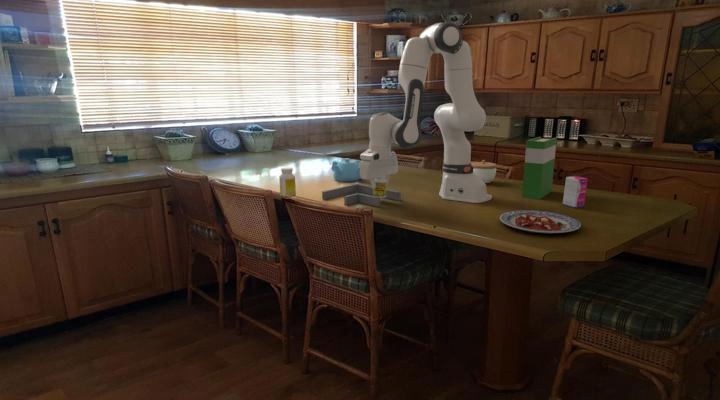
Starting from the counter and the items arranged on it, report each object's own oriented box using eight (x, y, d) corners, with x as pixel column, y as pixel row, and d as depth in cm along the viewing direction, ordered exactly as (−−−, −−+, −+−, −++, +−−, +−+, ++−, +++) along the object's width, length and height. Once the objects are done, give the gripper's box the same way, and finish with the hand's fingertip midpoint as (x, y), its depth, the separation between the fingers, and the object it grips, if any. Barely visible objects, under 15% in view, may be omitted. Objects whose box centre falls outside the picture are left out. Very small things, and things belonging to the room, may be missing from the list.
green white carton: (534, 189, 215) (539, 136, 209) (551, 191, 211) (556, 137, 205) (522, 196, 202) (526, 140, 196) (539, 199, 197) (545, 141, 191)
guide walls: (400, 200, 197) (401, 192, 196) (366, 210, 182) (366, 201, 181) (357, 191, 213) (357, 183, 213) (322, 199, 198) (322, 191, 198)
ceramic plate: (490, 230, 157) (490, 221, 156) (510, 212, 178) (510, 204, 178) (573, 243, 144) (574, 234, 143) (584, 222, 165) (585, 214, 165)
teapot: (360, 176, 248) (359, 155, 245) (365, 181, 233) (365, 160, 231) (331, 177, 245) (330, 156, 243) (334, 183, 231) (334, 161, 228)
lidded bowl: (499, 181, 232) (500, 159, 230) (491, 186, 222) (492, 163, 219) (474, 178, 239) (475, 157, 236) (465, 183, 229) (466, 160, 226)
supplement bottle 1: (299, 197, 203) (297, 167, 200) (290, 200, 197) (289, 170, 194) (285, 195, 206) (284, 166, 203) (277, 199, 200) (275, 169, 197)
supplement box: (574, 208, 183) (577, 179, 180) (562, 205, 188) (565, 176, 185) (584, 206, 185) (588, 178, 183) (572, 203, 190) (575, 175, 188)
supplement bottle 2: (385, 195, 197) (385, 172, 195) (386, 198, 192) (387, 175, 190) (372, 195, 197) (372, 172, 195) (373, 198, 192) (373, 175, 190)
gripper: (390, 149, 200) (389, 181, 203) (357, 155, 185) (357, 189, 189) (402, 151, 196) (401, 183, 199) (368, 157, 181) (369, 192, 184)
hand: (379, 186), depth 194 cm, fingers closed on supplement bottle 2, 5 cm apart
